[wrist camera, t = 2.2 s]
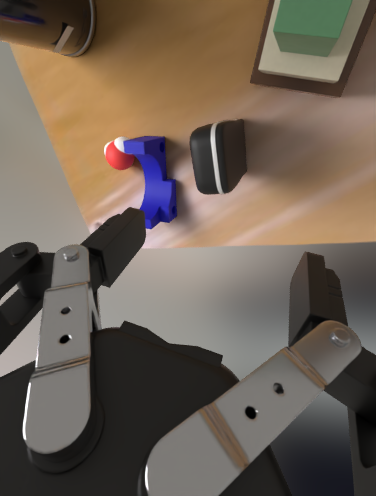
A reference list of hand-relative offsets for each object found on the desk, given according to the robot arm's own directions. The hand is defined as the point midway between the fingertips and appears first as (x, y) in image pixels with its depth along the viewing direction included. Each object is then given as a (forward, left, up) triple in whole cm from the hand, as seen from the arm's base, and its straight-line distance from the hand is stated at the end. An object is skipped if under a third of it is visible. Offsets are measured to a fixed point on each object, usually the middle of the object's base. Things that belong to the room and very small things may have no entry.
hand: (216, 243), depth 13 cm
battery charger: (-4, -2, -25) cm, 25 cm away
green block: (-4, +11, -18) cm, 22 cm away
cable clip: (-10, -12, -25) cm, 29 cm away
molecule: (-17, -12, -25) cm, 33 cm away
